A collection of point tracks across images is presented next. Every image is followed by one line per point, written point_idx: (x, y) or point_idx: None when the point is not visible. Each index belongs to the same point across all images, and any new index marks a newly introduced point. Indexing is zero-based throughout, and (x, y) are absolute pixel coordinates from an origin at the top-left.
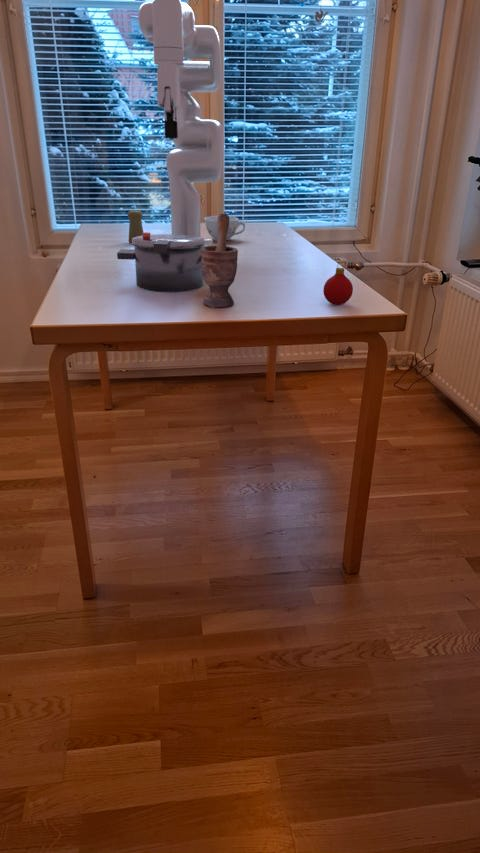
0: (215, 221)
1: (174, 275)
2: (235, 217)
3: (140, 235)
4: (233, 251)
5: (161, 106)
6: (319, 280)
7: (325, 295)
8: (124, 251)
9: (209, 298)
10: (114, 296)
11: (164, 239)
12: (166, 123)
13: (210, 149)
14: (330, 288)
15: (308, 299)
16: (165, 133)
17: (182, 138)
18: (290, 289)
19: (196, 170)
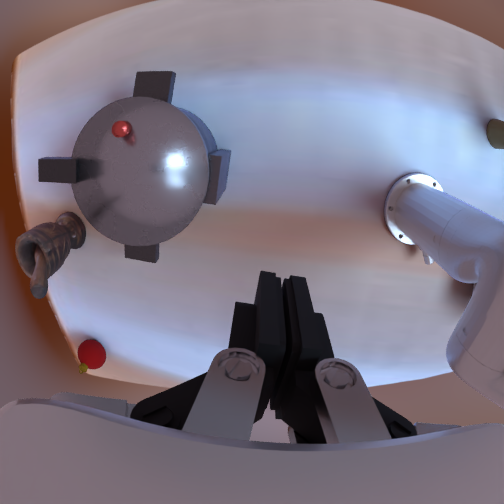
0: None
1: None
2: None
3: (498, 140)
4: (26, 274)
5: (364, 456)
6: (194, 363)
7: (86, 340)
8: (149, 82)
9: (56, 221)
10: (95, 89)
11: (124, 165)
12: (255, 344)
13: (495, 378)
14: (79, 347)
15: (107, 328)
16: (259, 286)
17: None
18: (145, 323)
19: (472, 312)
